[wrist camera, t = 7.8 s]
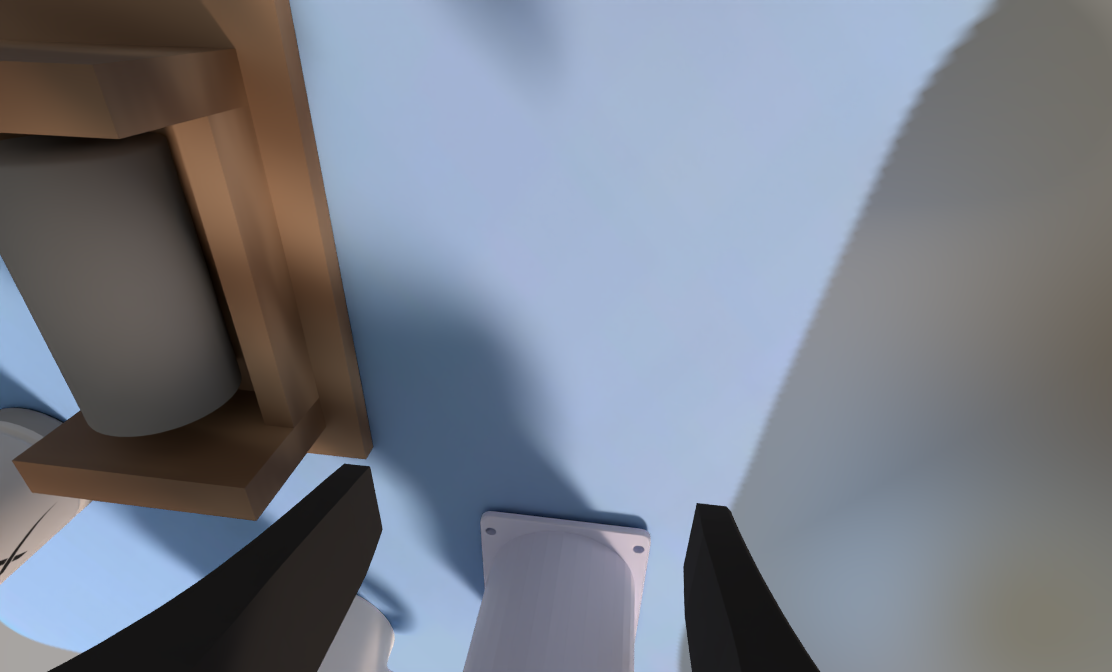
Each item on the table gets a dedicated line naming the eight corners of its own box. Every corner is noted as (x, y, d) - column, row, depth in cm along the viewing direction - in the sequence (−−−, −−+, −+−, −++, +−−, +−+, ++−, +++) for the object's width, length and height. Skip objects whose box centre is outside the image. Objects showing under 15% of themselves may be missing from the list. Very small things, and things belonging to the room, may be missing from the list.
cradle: (373, 447, 26) (307, 557, 21) (133, 421, 27) (14, 518, 22) (286, -15, 17) (129, -22, 12) (-71, -23, 18) (-357, -34, 13)
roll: (268, 364, 23) (175, 446, 19) (161, 350, 24) (48, 425, 20) (203, 135, 18) (60, 174, 14) (72, 125, 19) (-101, 160, 15)
